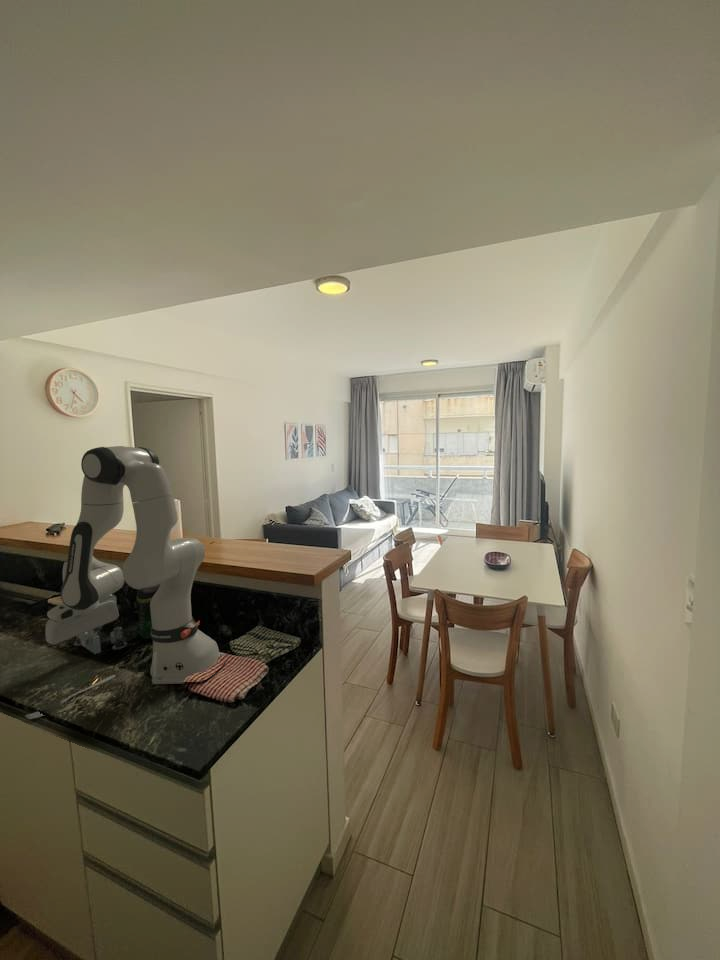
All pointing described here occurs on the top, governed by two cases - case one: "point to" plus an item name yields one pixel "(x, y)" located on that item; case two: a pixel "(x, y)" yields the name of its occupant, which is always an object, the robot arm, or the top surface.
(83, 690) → the fork
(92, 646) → the grey flat block
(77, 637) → the round knob
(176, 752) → the top surface
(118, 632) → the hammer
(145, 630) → the coffee jar
